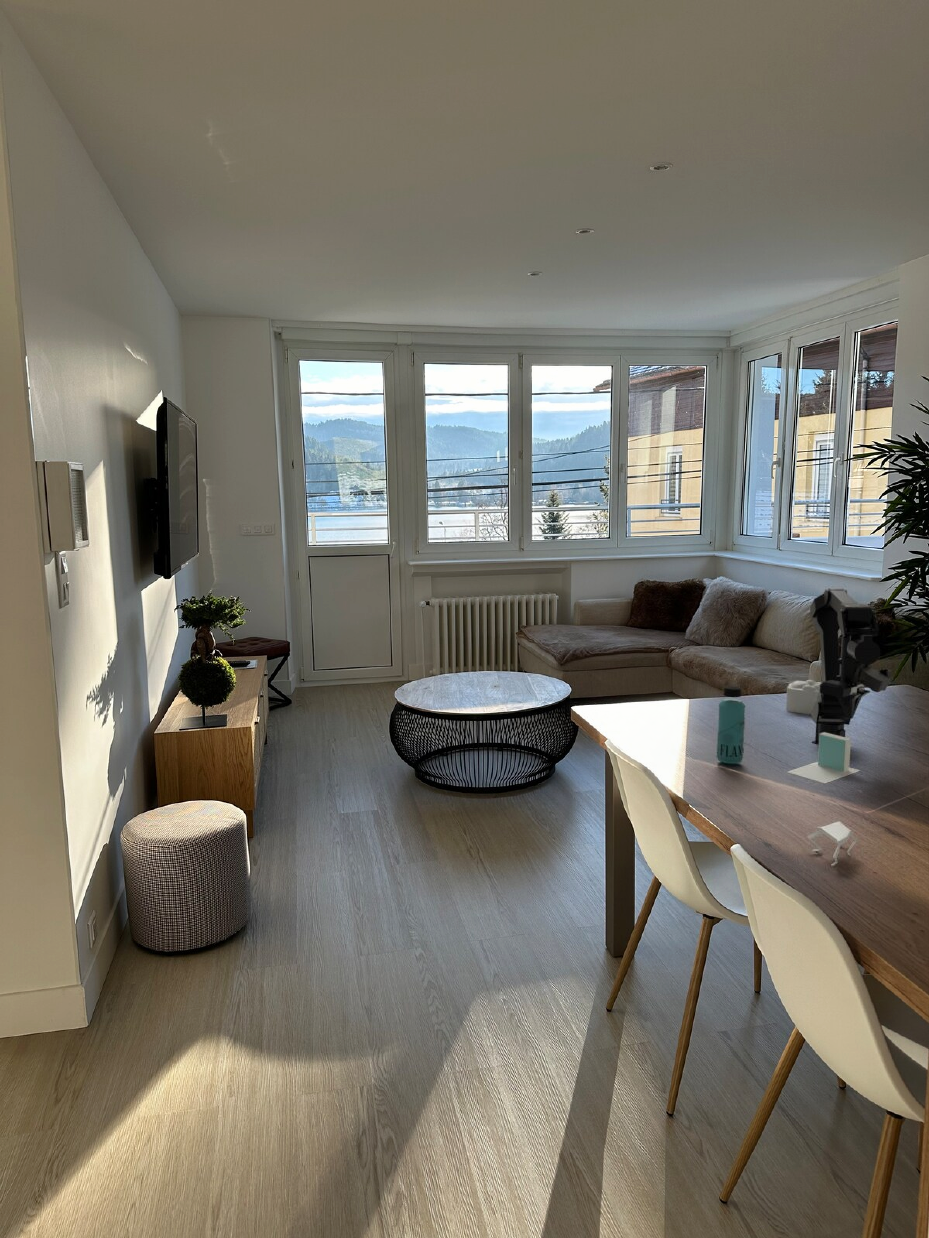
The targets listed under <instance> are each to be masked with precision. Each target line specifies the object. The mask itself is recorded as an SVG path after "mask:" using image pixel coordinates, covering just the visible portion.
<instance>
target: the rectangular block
mask: <svg viewBox="0 0 929 1238" xmlns="http://www.w3.org/2000/svg"><path fill="white" fill-rule="evenodd" d="M851 744H852V739H851V738H849V737H846V736H845V737H841V736H837V735H833V734H829V733H825V732H823V733H820V734H819V745H818V750H817V751H818V753H817V762H818V765H820V766H823V767H827V768H830V769H834V770H837V771H841V772H844V773H845V772H847V771H849V767H850V763H851V762H850V761H851V748H852V747H851Z"/></svg>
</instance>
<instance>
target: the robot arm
mask: <svg viewBox="0 0 929 1238" xmlns="http://www.w3.org/2000/svg"><path fill="white" fill-rule="evenodd" d="M809 616H810V618H811V619H812V626H813V627H814V629H815V630H816V631H817V633H818V634H819V642H820V643H819V645H820V660H821V661H820V662H821V679H822V680H821V681H822V682H821V684H820V688H819V694H818V696H817V701H816V703H815V705H814V707H813V710H812V714H811V720H812V721H813V722H814V723H815V736H814V737H815V738H814V740H812V741H811V744H813V745H817V746H819V734H820V733H823V732H825V733H829V734H833V735H837V736H841V737H845V738H846V729H845V725H847V726H849V725H850V723H851V720H852V719H853V718H854V716H855V714H856V711H857V709H858V707H859V704H860V702H861V700H862V698H864V696H866V695H868V694H869V693H871V691H872V692H875V693H880V692H881V691H886V690H887V688H888V686H889V684H892V683H893V681H892V679H893V677H892V676H893V675H892V670H890V669H889V668H887V667H886V668H882V669H880V670H879V669H874V668H872V664H873V665H874V664H875V663H876V662H877V661H878V660H879V659H880V656H881V654H882V653H881V648H880V646H879V645H878V644H877V643H876V642H875V641H873V637H875V636H876V637H878V636H879V631H880V627H879V622H878V619H877V615H876V614H875V610H874V609H873V607H872V606H870V605H869V604H867V603H858V602H856V601H855V600H854V599H853V598H852V596H850V595H849V593H848V591H847V589H845V588H828V589H825V590H824V591H823V593H822V594H820V595H818V596H817V597H814V599H813V601H812V602H811V604H810V608H809ZM839 631H840V633H841V635H842V636H841V646H840V643H839ZM840 647H841V648H840ZM840 650H841V651H840ZM866 687H867V688H868V689H870V690H866Z"/></svg>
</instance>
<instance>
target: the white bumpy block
mask: <svg viewBox="0 0 929 1238" xmlns="http://www.w3.org/2000/svg"><path fill="white" fill-rule="evenodd" d="M821 683H822V682H819V681H818V682H816V681H814V680H813V679H807V680H805V681H802V680H794V681H793V682H791V683H789V684H788V686H787V687H786V700H785V701H786V703H785V704H786V707H785V710H786V711H788V712H792V713H796V712H797V714H807V715H812V710H813V707H814V705H815V703H816V701H817V696H818V694H819V688H820V684H821Z"/></svg>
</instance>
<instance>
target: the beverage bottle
mask: <svg viewBox="0 0 929 1238" xmlns="http://www.w3.org/2000/svg"><path fill="white" fill-rule="evenodd" d="M723 688H724V690H723V696H724V697H727V698H726V699H725V698H724V699H723V700H721V701H720V702H719V703H718V727H717V730H718V731H717V735H716V736H717V741H716V743H717V745H716V753H715V754H716V756H715V757H716V759H717V761H719V762H721V763H725V764H730V765H731V764H733V765H734V764H740V763H742V762H743V760H744V754H745V753H744V752H745V751H744V750H745V748H744V741H745V736H744V734H745V730H746V729H745V727H746V721H745V719H746V718H745V712H746V709H745V708H746V705H745V704H744V702H743V701H742V700H740V699H736V698H740V697H742V689H741V687H740V686H734V685H727V686H725V687H723ZM728 697H729V698H728Z"/></svg>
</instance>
